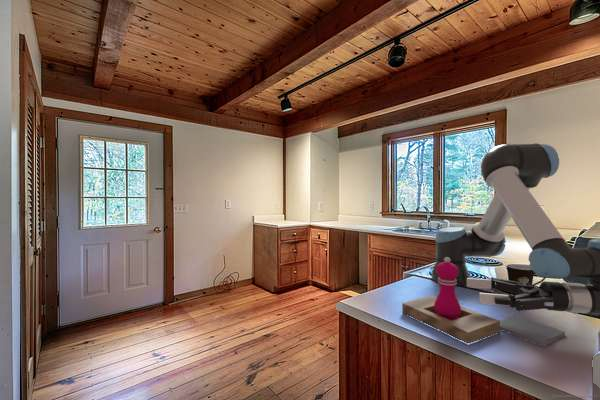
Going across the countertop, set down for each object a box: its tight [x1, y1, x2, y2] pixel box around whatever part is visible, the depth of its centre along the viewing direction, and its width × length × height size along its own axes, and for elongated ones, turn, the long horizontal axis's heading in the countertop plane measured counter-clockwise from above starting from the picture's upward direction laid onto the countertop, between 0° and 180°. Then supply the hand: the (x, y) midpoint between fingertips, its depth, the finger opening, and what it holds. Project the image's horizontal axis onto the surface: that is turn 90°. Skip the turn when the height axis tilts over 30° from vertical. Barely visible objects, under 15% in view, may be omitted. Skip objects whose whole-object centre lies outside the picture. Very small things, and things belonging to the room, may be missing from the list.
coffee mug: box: [506, 263, 546, 287], centre depth 109 cm, size 12×9×10 cm
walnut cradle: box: [401, 295, 501, 343], centre depth 86 cm, size 22×14×4 cm, turn 26°
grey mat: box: [499, 314, 566, 347], centre depth 80 cm, size 12×12×1 cm
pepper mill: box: [434, 257, 462, 321], centre depth 85 cm, size 7×7×20 cm
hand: (472, 289), depth 83 cm, fingers open, 13 cm apart
